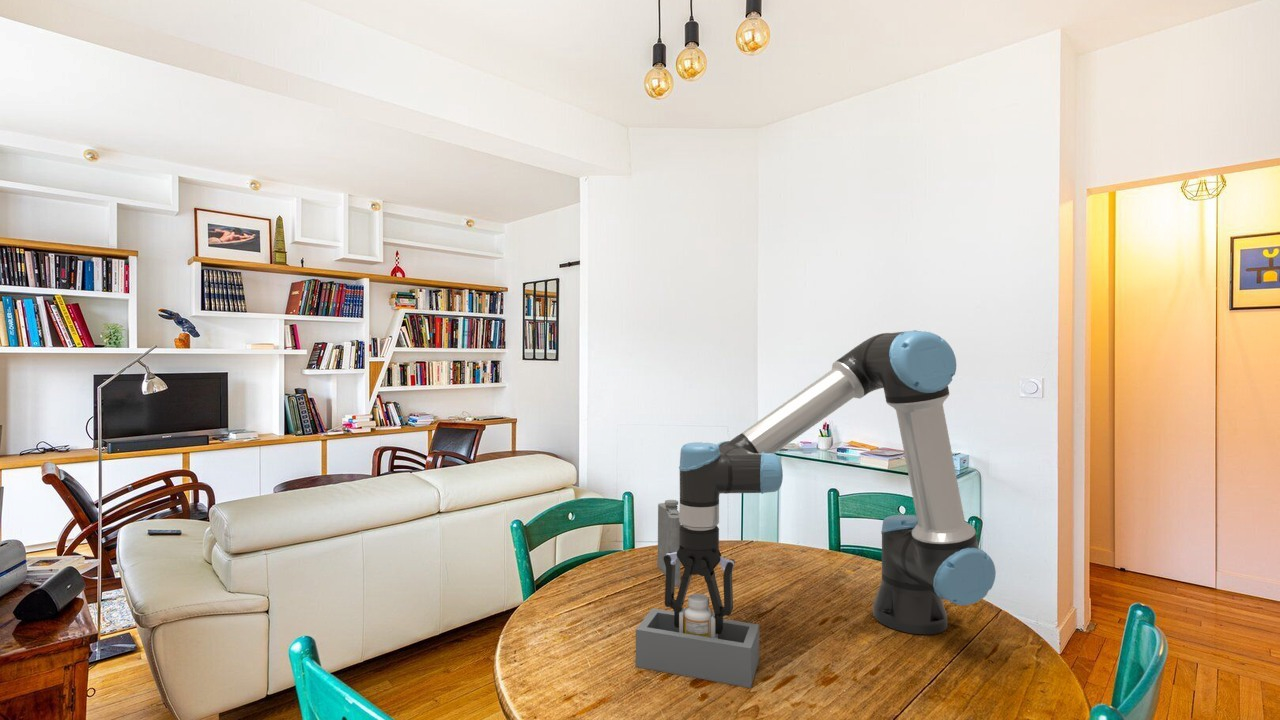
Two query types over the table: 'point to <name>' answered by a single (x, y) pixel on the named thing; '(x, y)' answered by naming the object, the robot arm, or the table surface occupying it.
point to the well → (698, 650)
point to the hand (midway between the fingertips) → (698, 646)
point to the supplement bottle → (698, 616)
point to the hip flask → (668, 534)
